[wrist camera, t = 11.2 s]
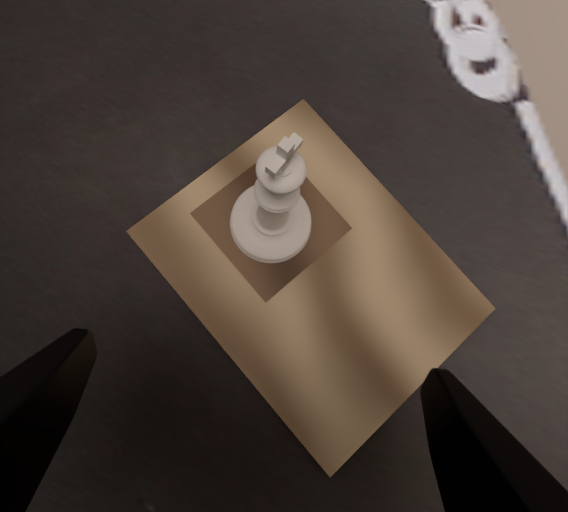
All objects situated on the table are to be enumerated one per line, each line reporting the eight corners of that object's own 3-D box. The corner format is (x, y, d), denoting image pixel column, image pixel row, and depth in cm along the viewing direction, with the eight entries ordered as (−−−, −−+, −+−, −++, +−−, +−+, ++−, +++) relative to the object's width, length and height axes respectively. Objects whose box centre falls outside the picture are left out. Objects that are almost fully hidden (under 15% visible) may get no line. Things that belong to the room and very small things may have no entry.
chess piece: (213, 230, 22) (181, 154, 12) (262, 169, 23) (271, 52, 13) (279, 280, 21) (302, 244, 12) (326, 216, 22) (384, 134, 13)
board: (328, 474, 20) (330, 478, 20) (128, 232, 22) (125, 230, 21) (491, 308, 23) (496, 308, 22) (302, 102, 24) (303, 98, 24)
